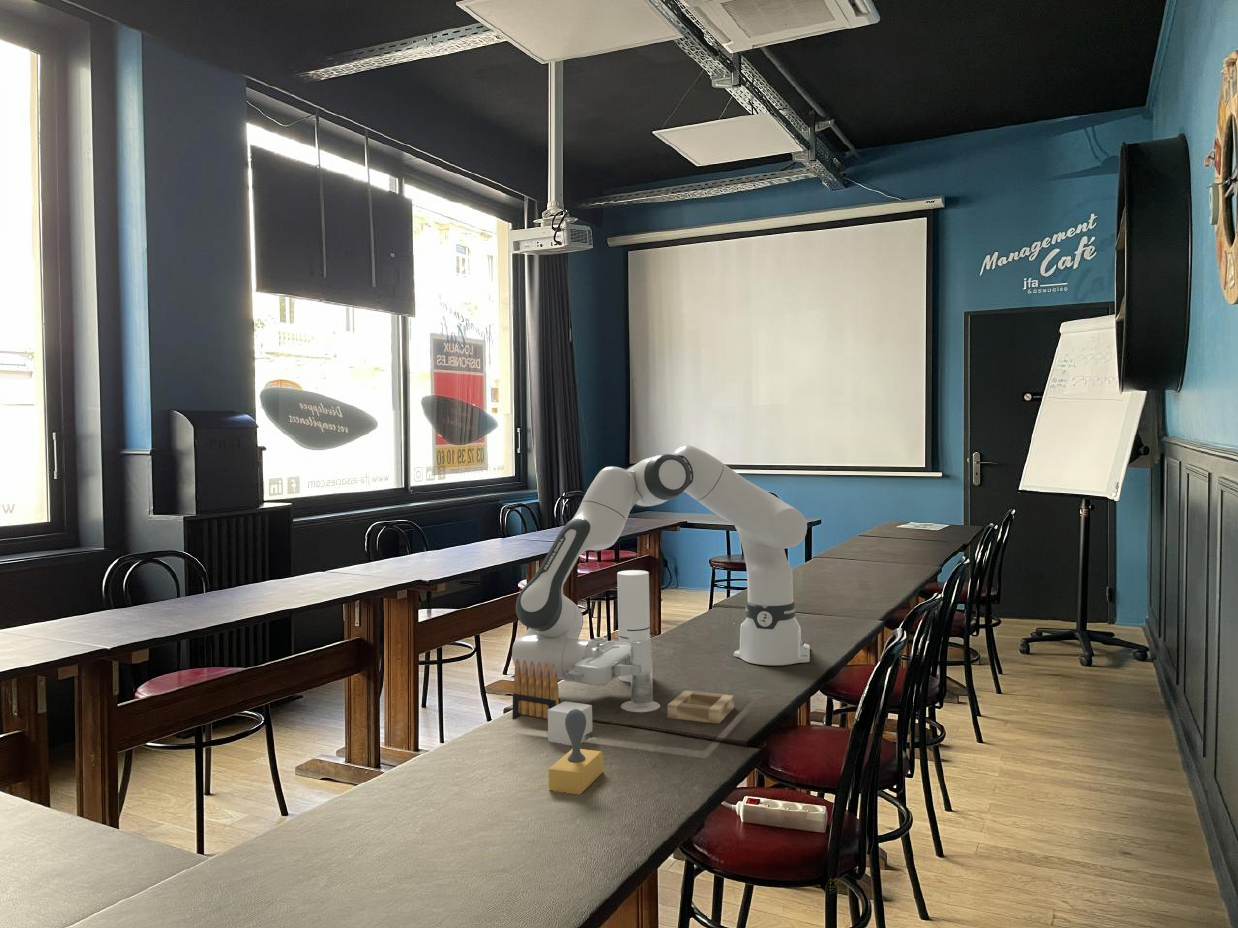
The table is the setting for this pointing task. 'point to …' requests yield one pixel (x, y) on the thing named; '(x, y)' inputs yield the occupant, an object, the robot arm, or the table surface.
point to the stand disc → (640, 706)
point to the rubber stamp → (575, 760)
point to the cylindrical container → (633, 607)
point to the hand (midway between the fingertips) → (645, 666)
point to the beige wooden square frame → (701, 706)
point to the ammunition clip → (534, 691)
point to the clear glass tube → (643, 681)
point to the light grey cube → (557, 721)
